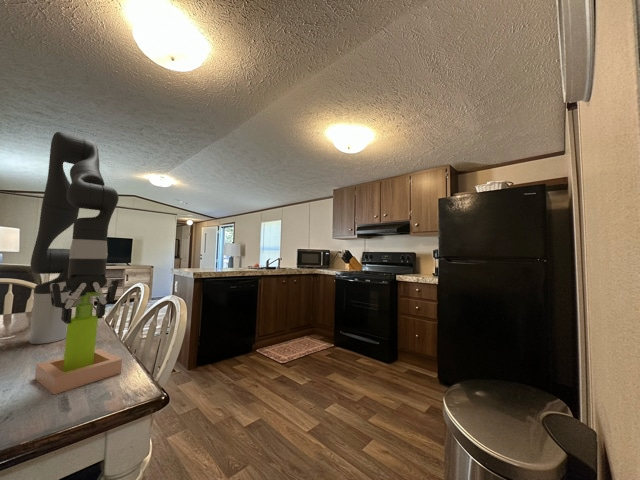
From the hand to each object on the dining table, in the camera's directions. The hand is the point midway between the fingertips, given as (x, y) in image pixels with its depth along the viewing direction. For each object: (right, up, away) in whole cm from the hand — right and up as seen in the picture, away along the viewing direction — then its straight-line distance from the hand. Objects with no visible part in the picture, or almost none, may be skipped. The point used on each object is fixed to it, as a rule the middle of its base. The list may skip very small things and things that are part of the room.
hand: (83, 320), depth 68 cm
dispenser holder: (0, -14, -1) cm, 14 cm away
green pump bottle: (0, -13, -1) cm, 13 cm away
